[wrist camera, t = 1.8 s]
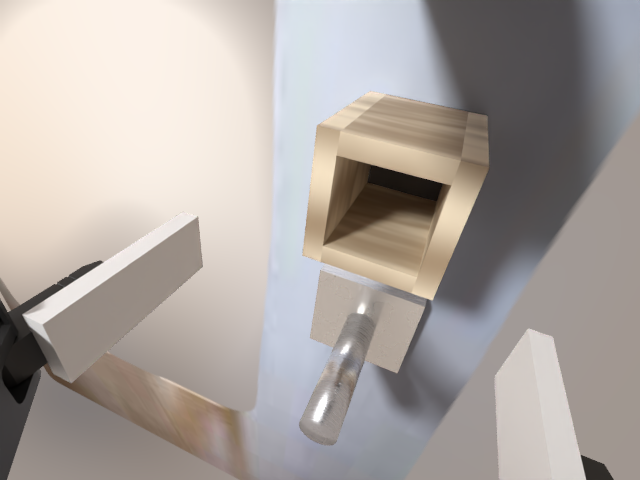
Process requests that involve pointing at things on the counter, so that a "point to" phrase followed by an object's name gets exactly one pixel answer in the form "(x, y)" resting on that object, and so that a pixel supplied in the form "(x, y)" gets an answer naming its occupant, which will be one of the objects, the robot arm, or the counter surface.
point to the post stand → (355, 341)
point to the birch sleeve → (391, 205)
